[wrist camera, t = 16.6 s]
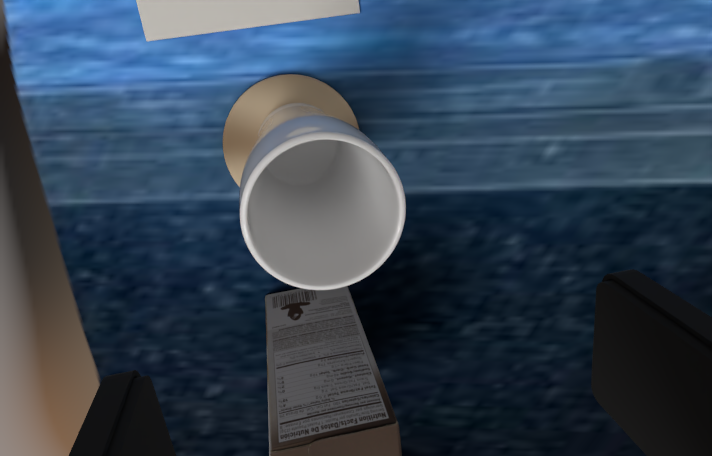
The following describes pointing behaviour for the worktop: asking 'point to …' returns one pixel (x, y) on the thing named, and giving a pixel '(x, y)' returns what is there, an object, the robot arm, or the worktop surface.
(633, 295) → the robot arm
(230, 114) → the cork coaster
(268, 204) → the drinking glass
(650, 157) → the worktop surface
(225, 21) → the tile
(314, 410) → the coffee box
